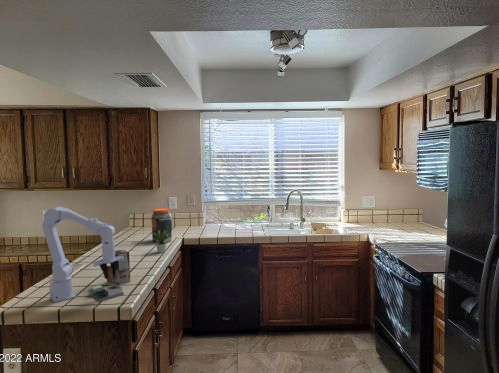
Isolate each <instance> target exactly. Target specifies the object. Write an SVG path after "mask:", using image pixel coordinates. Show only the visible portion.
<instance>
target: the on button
mask: <svg viewBox="0 0 499 373" xmlns="http://www.w3.org/2000/svg"><path fill="white" fill-rule="evenodd" d="M102 288H104V287H103V285H100V284H98V285H94V286H91V289H92V291H93V292H97V291H101V290H102Z"/></svg>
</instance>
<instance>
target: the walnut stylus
mask: <svg viewBox="0 0 499 373" xmlns="http://www.w3.org/2000/svg"><path fill="white" fill-rule="evenodd" d="M107 266H108V279H106V283H108V284H109V283H113V282H114V281H113V266H111V265H107Z"/></svg>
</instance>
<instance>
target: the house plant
mask: <svg viewBox="0 0 499 373" xmlns="http://www.w3.org/2000/svg"><path fill="white" fill-rule="evenodd" d="M164 231H165V230H164ZM164 231H163V233H162V235H161V232H159V231H158V232H157V233H158V234H155V233H154V234H155V235H156V236H157V238H158V240H157V239H156V238H151V239H152V240H153V239H156V242H157V241H158V242H159V243H155V245H156V251H157V253H159V254H163V253H166V249H167V242H164V241H165V240H167V239H170V238H169V237H168V238H167V239H165V237H166V236H168V235H166V236H164V235H165V234H166V232H167V231H166V232H165V233H164ZM168 234H170V232H169V233H168ZM171 235H172V236H173V233H172V234H171Z"/></svg>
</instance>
